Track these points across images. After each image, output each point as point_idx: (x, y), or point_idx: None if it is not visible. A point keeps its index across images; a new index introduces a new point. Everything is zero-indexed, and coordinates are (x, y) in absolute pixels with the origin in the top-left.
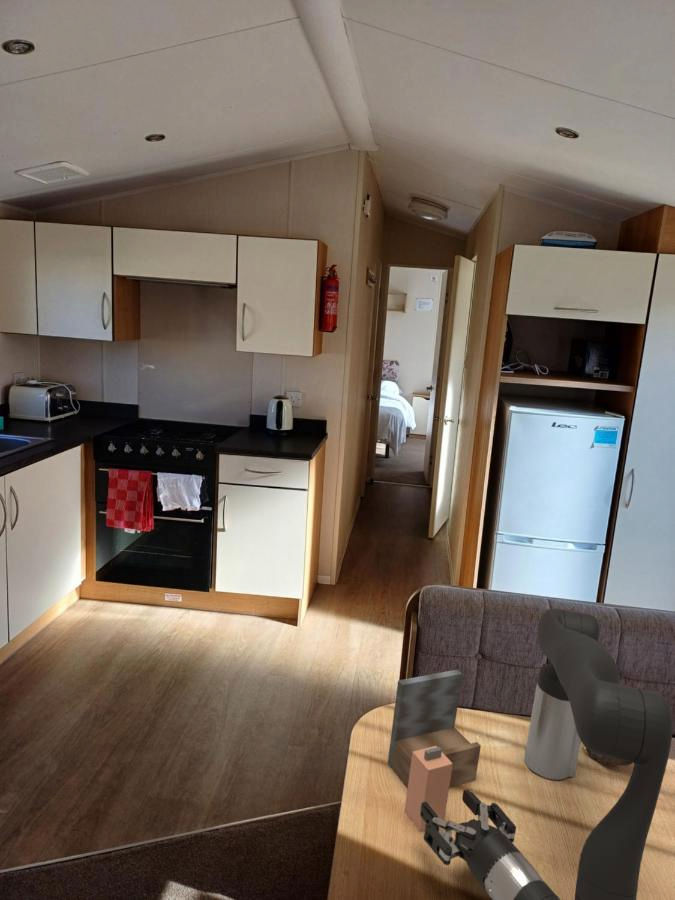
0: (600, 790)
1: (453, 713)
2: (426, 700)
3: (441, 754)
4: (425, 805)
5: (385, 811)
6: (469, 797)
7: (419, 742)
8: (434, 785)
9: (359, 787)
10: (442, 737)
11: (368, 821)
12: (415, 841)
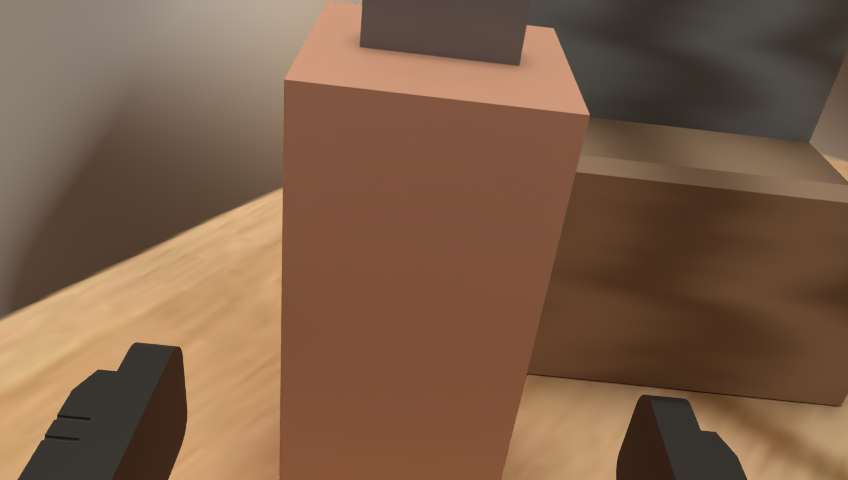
0: None
1: (822, 57)
2: None
3: (542, 58)
4: (117, 372)
5: (210, 367)
6: (664, 474)
7: None
8: (374, 265)
9: (216, 244)
10: (715, 151)
11: (66, 376)
12: None
